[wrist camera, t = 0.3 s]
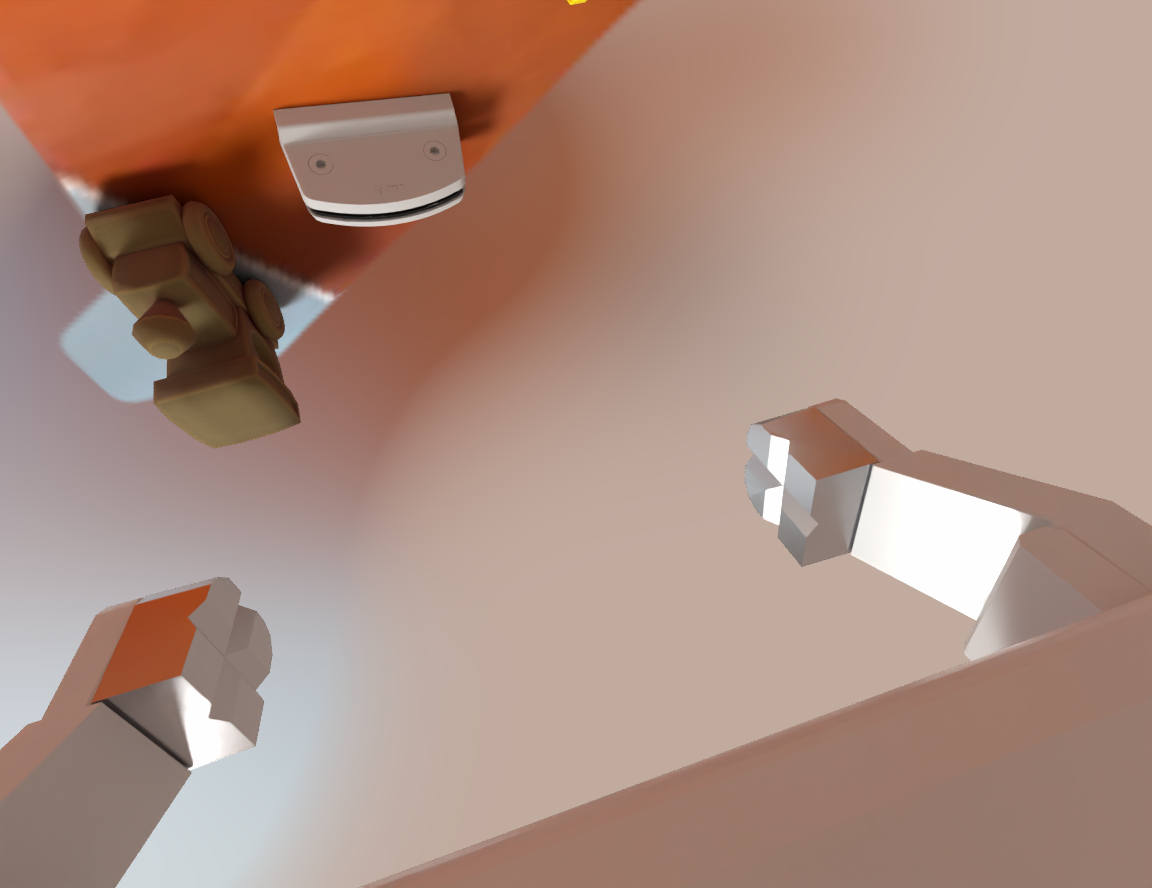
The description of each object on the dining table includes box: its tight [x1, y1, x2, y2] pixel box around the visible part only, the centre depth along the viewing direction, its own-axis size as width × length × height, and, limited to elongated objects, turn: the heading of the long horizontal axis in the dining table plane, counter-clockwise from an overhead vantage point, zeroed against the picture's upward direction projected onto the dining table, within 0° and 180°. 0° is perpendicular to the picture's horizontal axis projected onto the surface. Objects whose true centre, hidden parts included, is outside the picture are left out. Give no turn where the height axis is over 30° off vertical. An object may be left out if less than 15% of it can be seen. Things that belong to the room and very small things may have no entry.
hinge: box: [274, 93, 465, 226], centre depth 54 cm, size 17×5×10 cm, turn 84°
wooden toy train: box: [79, 195, 300, 448], centre depth 57 cm, size 20×11×17 cm, turn 1°
